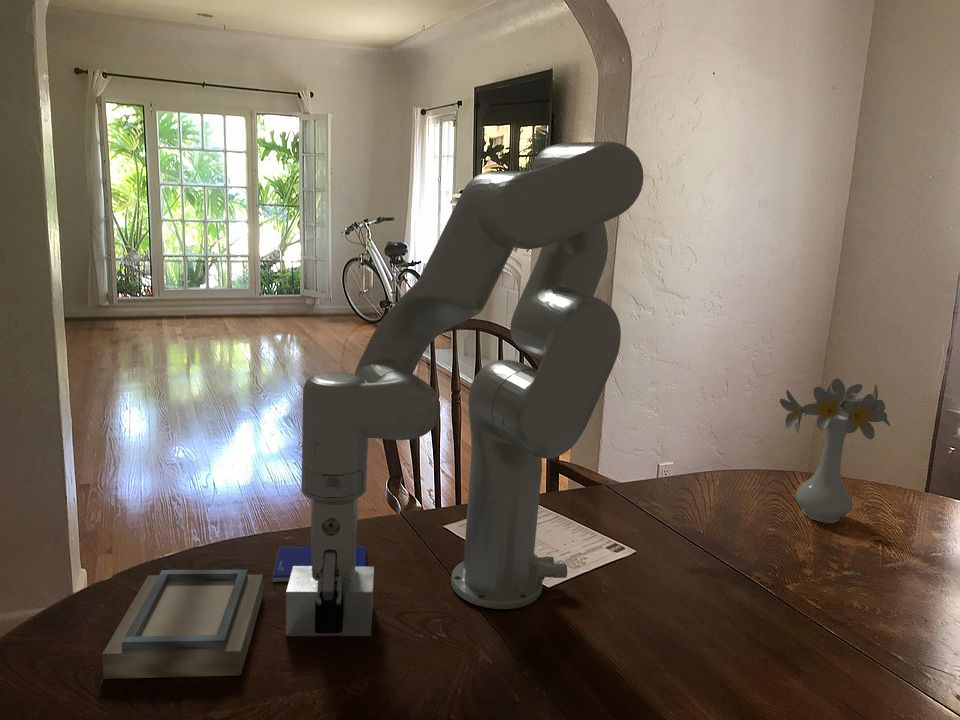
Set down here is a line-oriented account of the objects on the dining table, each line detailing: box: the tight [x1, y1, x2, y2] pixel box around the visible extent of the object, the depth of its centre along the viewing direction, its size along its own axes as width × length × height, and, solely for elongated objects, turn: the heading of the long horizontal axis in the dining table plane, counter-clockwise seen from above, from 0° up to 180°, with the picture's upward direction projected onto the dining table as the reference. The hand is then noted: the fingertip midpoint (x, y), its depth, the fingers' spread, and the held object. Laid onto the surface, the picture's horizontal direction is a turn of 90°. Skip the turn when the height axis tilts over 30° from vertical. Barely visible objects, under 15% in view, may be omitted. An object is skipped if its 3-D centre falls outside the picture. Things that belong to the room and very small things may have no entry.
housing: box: [285, 566, 375, 637], centre depth 90 cm, size 10×6×7 cm, turn 96°
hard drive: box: [272, 545, 367, 583], centre depth 104 cm, size 2×8×12 cm
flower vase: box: [779, 377, 891, 522], centre depth 129 cm, size 13×18×25 cm
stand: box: [101, 569, 264, 680], centre depth 86 cm, size 14×16×4 cm
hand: (330, 611), depth 91 cm, fingers open, 7 cm apart
